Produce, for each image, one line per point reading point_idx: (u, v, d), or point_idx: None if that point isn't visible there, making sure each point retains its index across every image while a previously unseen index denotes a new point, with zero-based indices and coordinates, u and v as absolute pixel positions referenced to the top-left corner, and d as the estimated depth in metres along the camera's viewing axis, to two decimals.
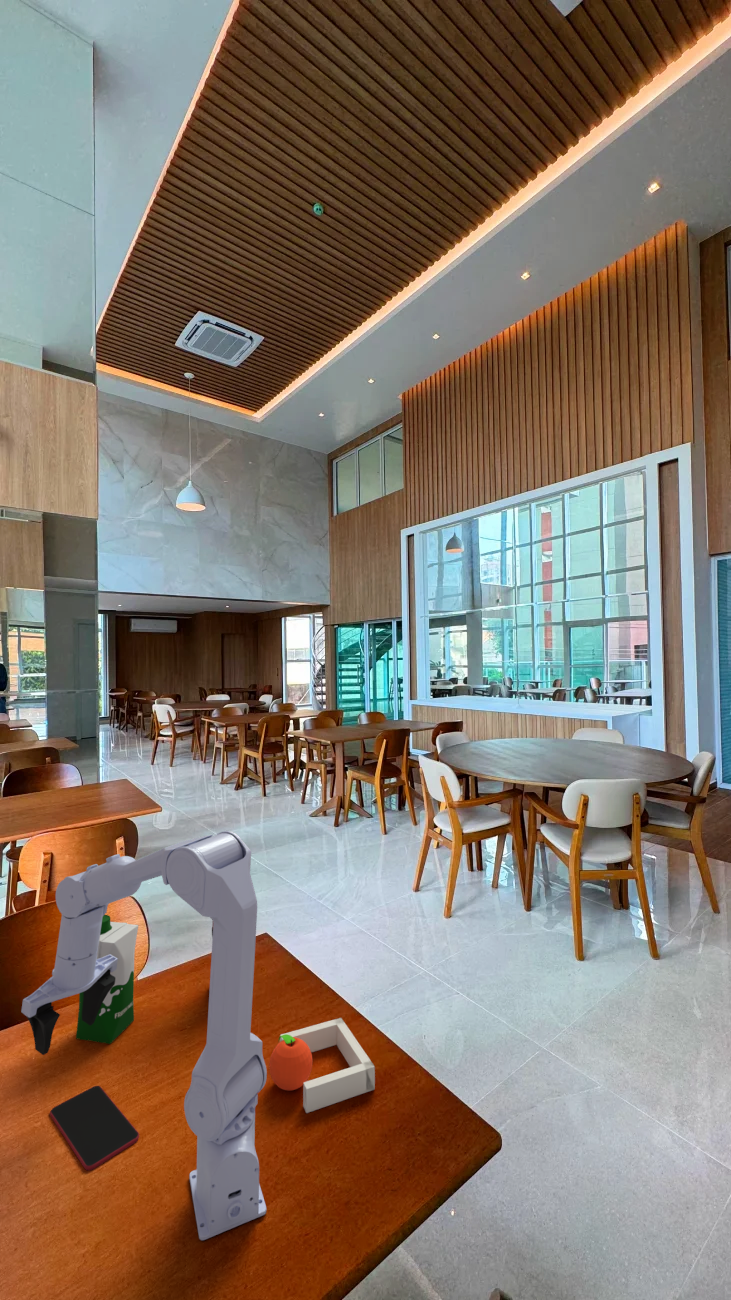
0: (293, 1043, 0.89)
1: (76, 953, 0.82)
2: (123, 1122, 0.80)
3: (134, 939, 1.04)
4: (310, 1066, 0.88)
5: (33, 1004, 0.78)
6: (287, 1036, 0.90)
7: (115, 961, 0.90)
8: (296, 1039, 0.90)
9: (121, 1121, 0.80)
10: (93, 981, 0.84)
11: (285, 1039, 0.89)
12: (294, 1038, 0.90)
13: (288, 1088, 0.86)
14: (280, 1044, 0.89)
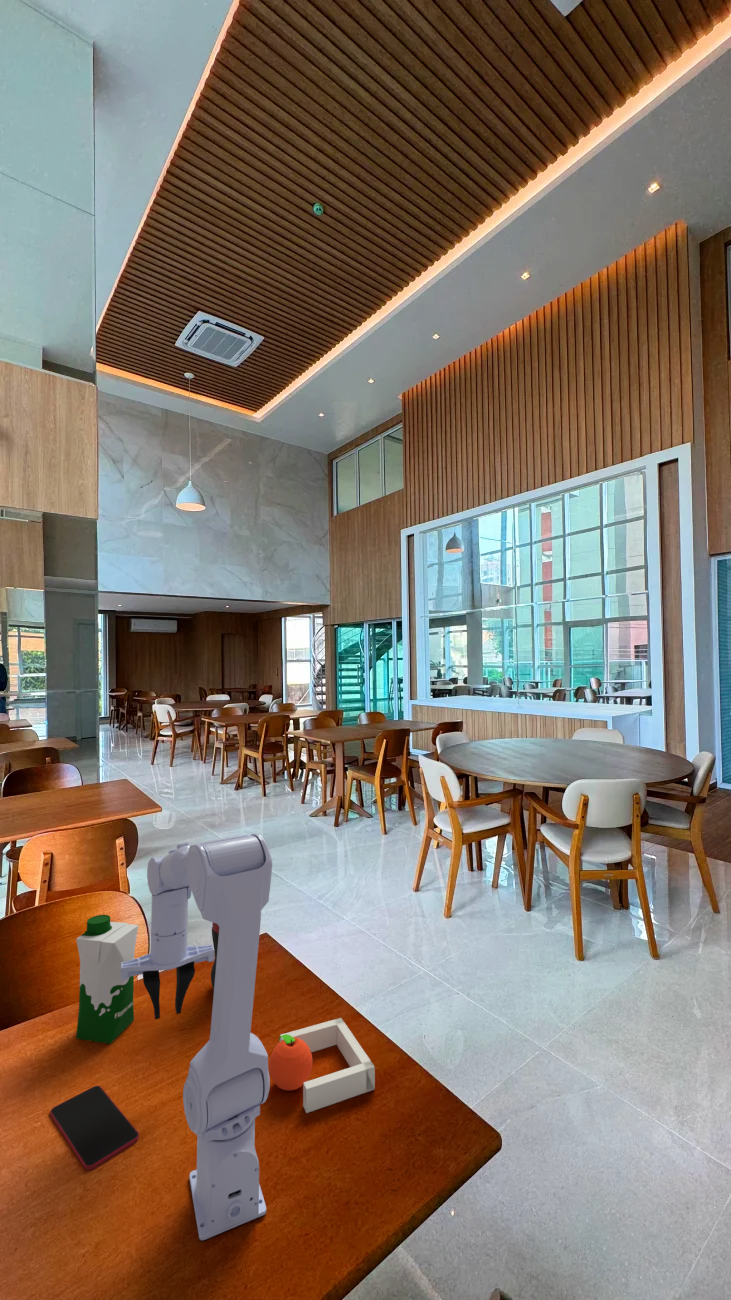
0: (293, 1043, 0.89)
1: (161, 930, 0.88)
2: (123, 1122, 0.80)
3: (134, 939, 1.04)
4: (310, 1066, 0.88)
5: (123, 968, 0.87)
6: (287, 1036, 0.90)
7: (211, 951, 0.93)
8: (296, 1039, 0.90)
9: (121, 1121, 0.80)
10: (179, 963, 0.89)
11: (285, 1039, 0.89)
12: (294, 1038, 0.90)
13: (288, 1088, 0.86)
14: (280, 1044, 0.89)
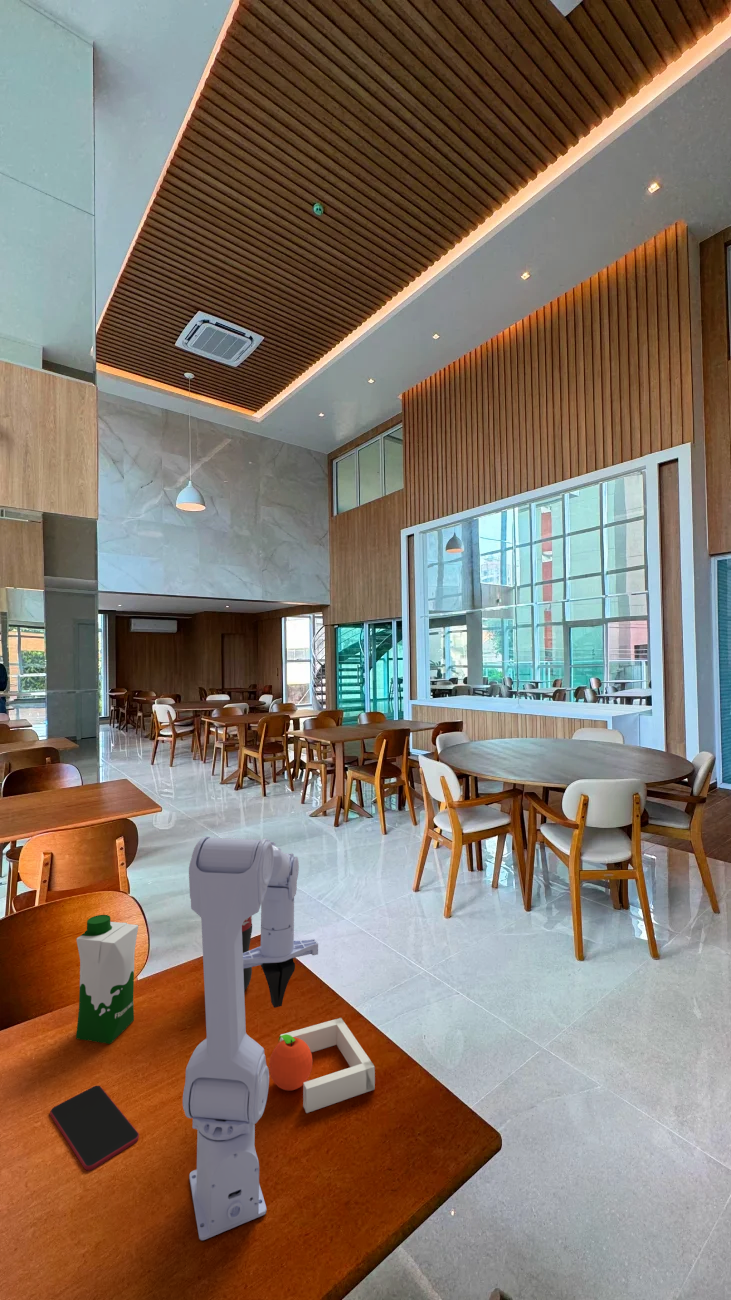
0: (293, 1043, 0.89)
1: (263, 921, 0.94)
2: (123, 1122, 0.80)
3: (134, 939, 1.04)
4: (310, 1066, 0.88)
5: None
6: (287, 1036, 0.90)
7: (315, 945, 0.97)
8: (296, 1039, 0.90)
9: (121, 1121, 0.80)
10: (289, 955, 0.94)
11: (285, 1039, 0.89)
12: (294, 1038, 0.90)
13: (288, 1088, 0.86)
14: (280, 1044, 0.89)
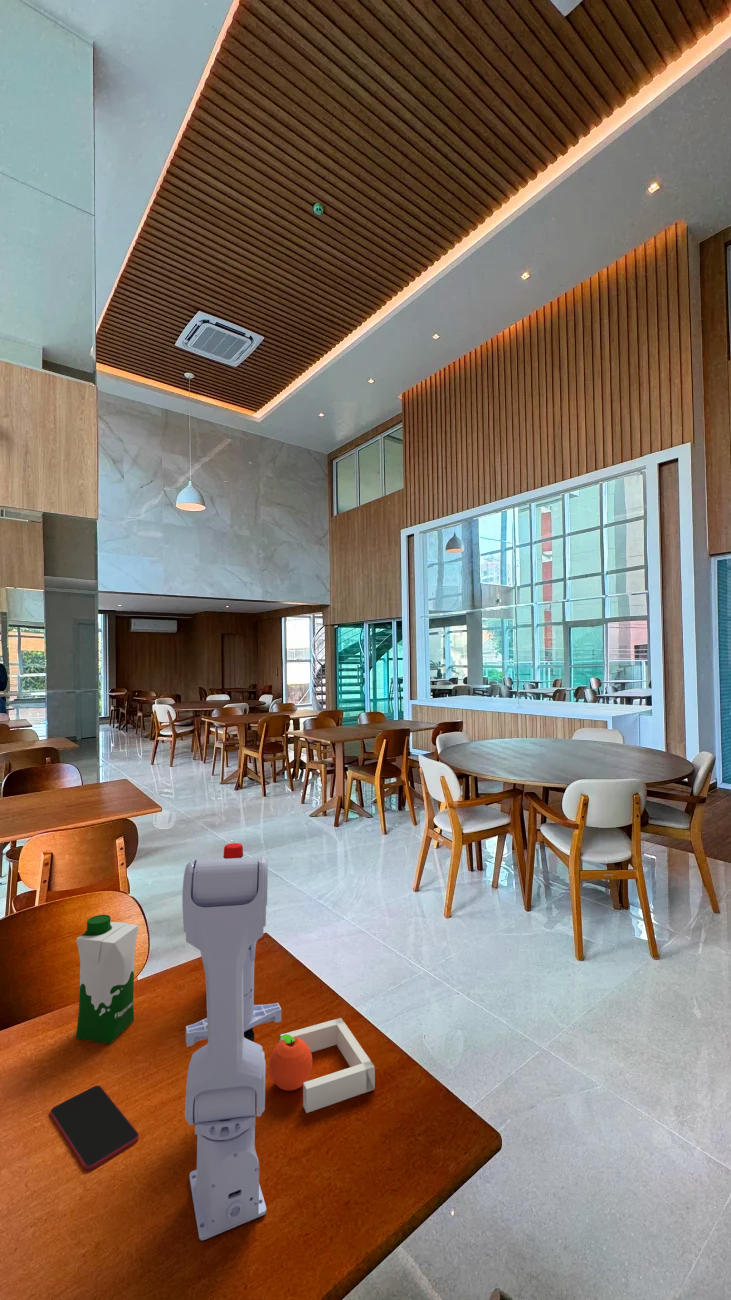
0: (293, 1043, 0.89)
1: None
2: (123, 1122, 0.80)
3: (134, 939, 1.04)
4: (310, 1066, 0.88)
5: (189, 1033, 0.82)
6: (287, 1036, 0.90)
7: (278, 1011, 0.88)
8: (296, 1039, 0.90)
9: (121, 1121, 0.80)
10: (247, 1026, 0.84)
11: (285, 1039, 0.89)
12: (294, 1038, 0.90)
13: (288, 1088, 0.86)
14: (280, 1044, 0.89)
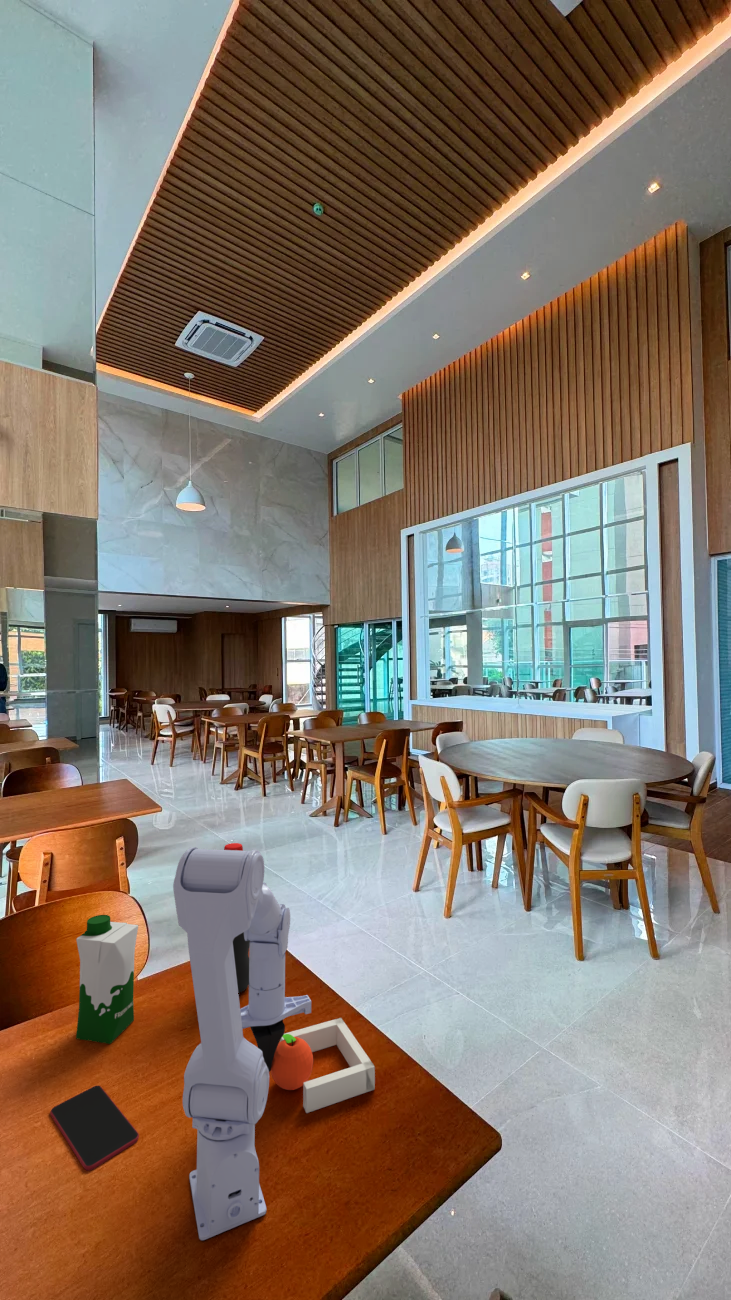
0: (294, 1043, 0.89)
1: (251, 980, 0.86)
2: (123, 1122, 0.80)
3: (134, 939, 1.04)
4: (311, 1066, 0.88)
5: None
6: (288, 1036, 0.90)
7: (308, 1003, 0.90)
8: (297, 1039, 0.90)
9: (121, 1121, 0.80)
10: (280, 1017, 0.86)
11: (286, 1039, 0.89)
12: (295, 1038, 0.90)
13: (289, 1088, 0.86)
14: (281, 1044, 0.89)
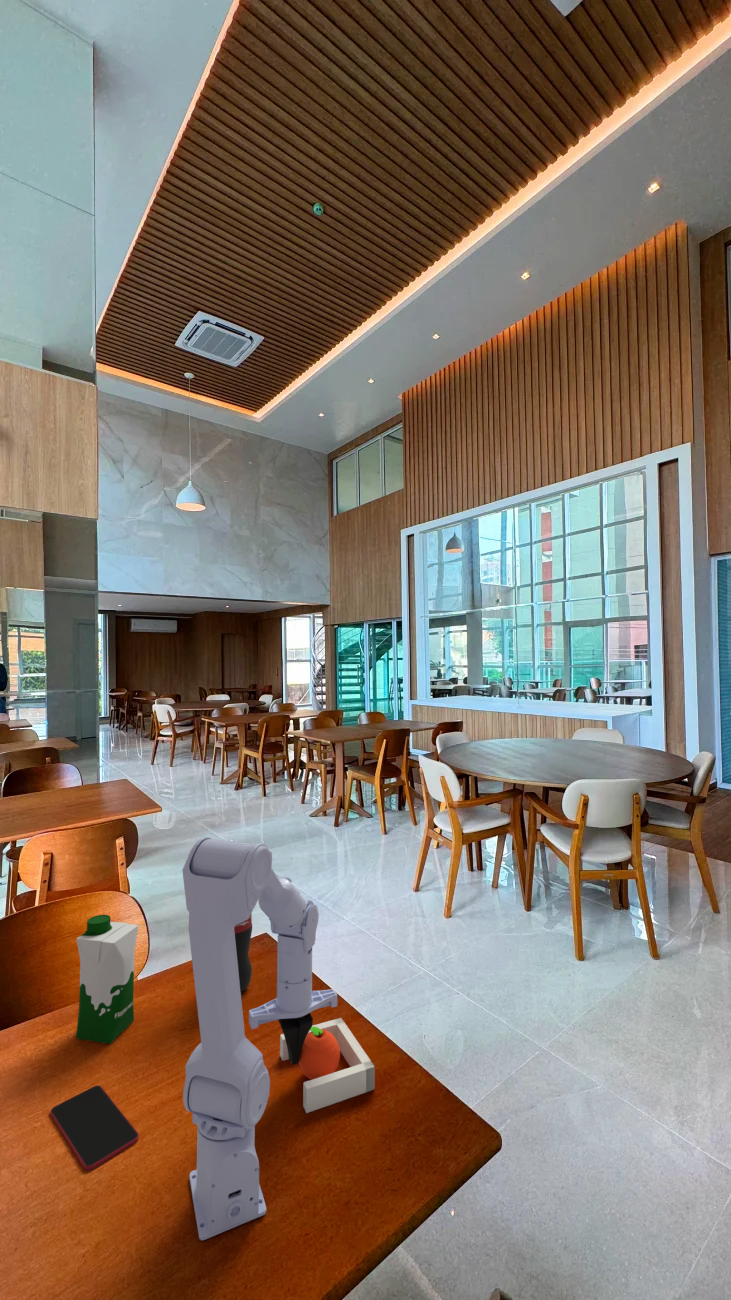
0: (321, 1035, 0.91)
1: (278, 972, 0.89)
2: (123, 1122, 0.80)
3: (134, 939, 1.04)
4: (338, 1057, 0.90)
5: (254, 1016, 0.86)
6: (315, 1028, 0.92)
7: (334, 997, 0.92)
8: (324, 1031, 0.92)
9: (121, 1121, 0.80)
10: (307, 1010, 0.88)
11: (313, 1031, 0.91)
12: (322, 1030, 0.92)
13: None
14: (309, 1036, 0.91)
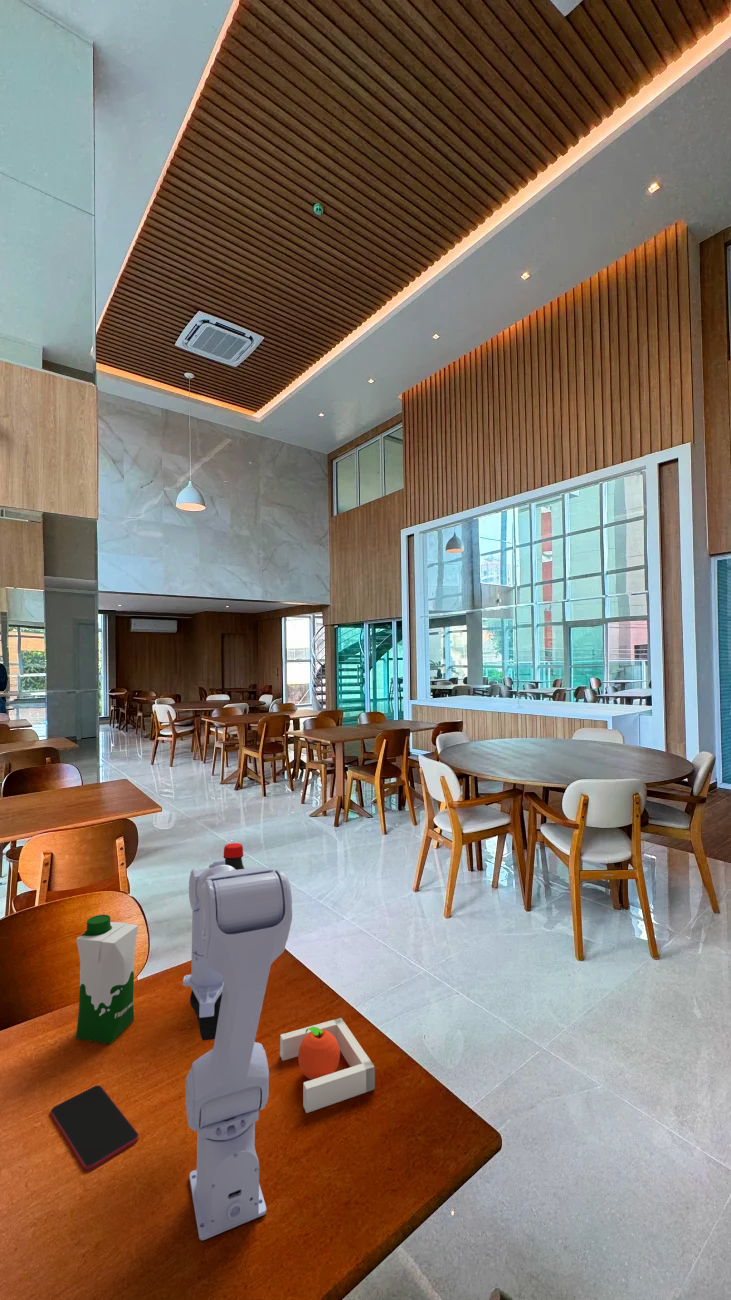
0: (321, 1035, 0.91)
1: (200, 948, 0.82)
2: (123, 1122, 0.80)
3: (134, 939, 1.04)
4: (338, 1057, 0.90)
5: (213, 1001, 0.78)
6: (315, 1028, 0.92)
7: None
8: (324, 1031, 0.92)
9: (121, 1121, 0.80)
10: None
11: (313, 1031, 0.91)
12: (322, 1030, 0.92)
13: None
14: (308, 1036, 0.91)
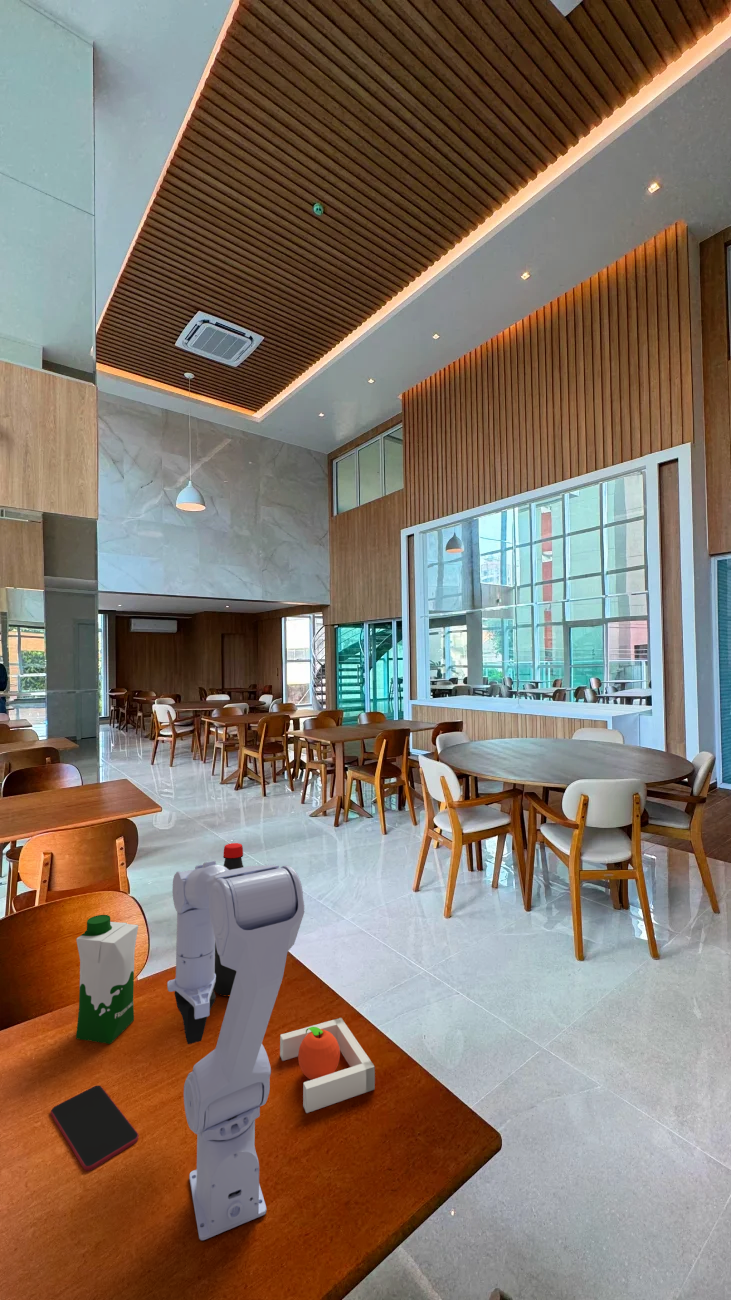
0: (321, 1035, 0.91)
1: (187, 951, 0.82)
2: (123, 1122, 0.80)
3: (134, 939, 1.04)
4: (338, 1057, 0.90)
5: (209, 1001, 0.78)
6: (315, 1028, 0.92)
7: None
8: (324, 1031, 0.92)
9: (121, 1121, 0.80)
10: None
11: (313, 1031, 0.91)
12: (322, 1030, 0.92)
13: None
14: (308, 1036, 0.91)
